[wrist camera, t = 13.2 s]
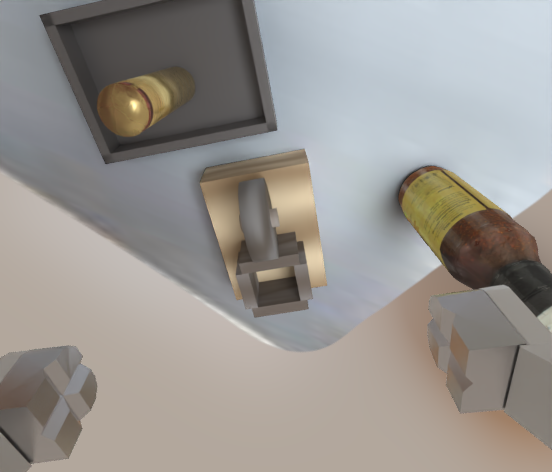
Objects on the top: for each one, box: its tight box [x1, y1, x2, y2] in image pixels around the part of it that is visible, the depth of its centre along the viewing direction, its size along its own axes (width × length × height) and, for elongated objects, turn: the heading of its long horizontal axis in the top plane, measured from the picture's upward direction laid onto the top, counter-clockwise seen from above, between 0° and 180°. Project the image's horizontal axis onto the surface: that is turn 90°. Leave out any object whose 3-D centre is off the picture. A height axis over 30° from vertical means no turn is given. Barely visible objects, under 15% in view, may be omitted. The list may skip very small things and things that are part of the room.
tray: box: [40, 0, 277, 164], centre depth 31 cm, size 16×12×4 cm
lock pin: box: [97, 67, 195, 137], centre depth 27 cm, size 3×3×12 cm
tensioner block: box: [200, 149, 327, 317], centre depth 35 cm, size 14×10×11 cm
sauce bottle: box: [399, 166, 552, 334], centre depth 30 cm, size 6×6×20 cm
